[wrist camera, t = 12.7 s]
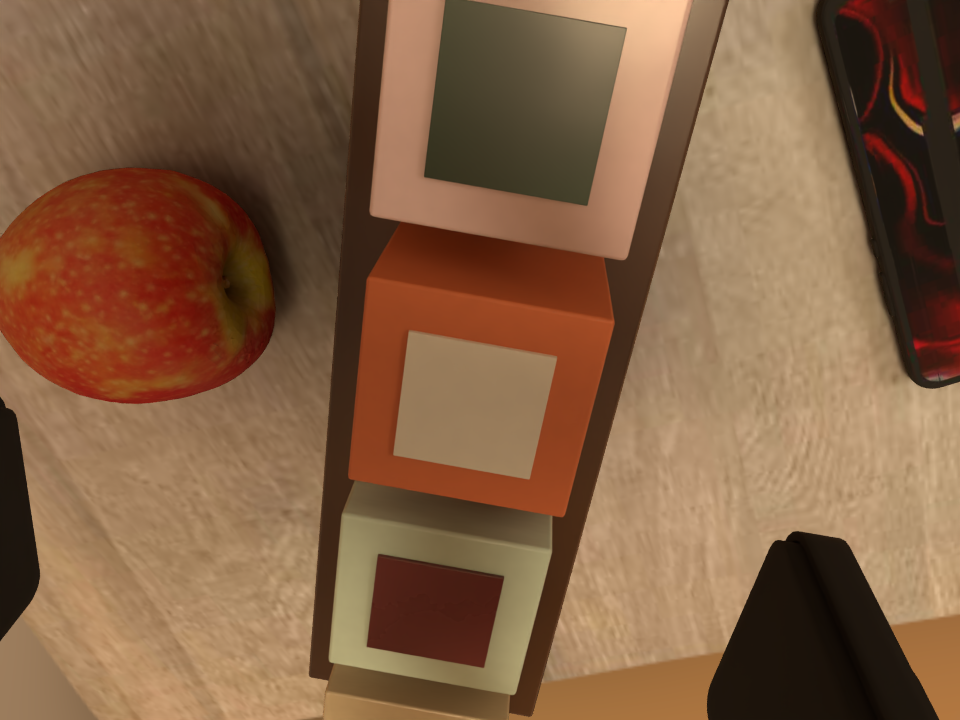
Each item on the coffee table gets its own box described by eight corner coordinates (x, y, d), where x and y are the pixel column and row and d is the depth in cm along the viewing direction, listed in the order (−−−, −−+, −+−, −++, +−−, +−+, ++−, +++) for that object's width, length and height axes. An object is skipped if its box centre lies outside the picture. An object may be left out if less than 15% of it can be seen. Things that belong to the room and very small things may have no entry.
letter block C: (410, 159, 18) (366, 218, 14) (436, -70, 16) (393, -81, 12) (610, 194, 18) (627, 265, 14) (663, -30, 16) (702, -28, 11)
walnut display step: (371, 494, 35) (308, 678, 26) (437, -100, 24) (369, -135, 15) (537, 524, 35) (531, 718, 26) (677, -57, 24) (748, -69, 15)
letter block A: (352, 671, 26) (313, 809, 21) (364, 564, 23) (323, 695, 19) (491, 696, 25) (479, 840, 21) (516, 591, 23) (508, 729, 19)
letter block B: (367, 538, 23) (326, 667, 19) (382, 405, 21) (339, 516, 17) (522, 566, 23) (515, 701, 19) (553, 435, 21) (553, 554, 17)
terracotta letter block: (388, 376, 20) (345, 483, 16) (408, 206, 18) (364, 278, 14) (562, 407, 20) (564, 522, 16) (602, 240, 18) (616, 323, 14)
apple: (312, 336, 31) (241, 446, 24) (117, 350, 32) (-5, 458, 25) (265, 133, 28) (165, 192, 21) (48, 156, 29) (-117, 220, 22)
